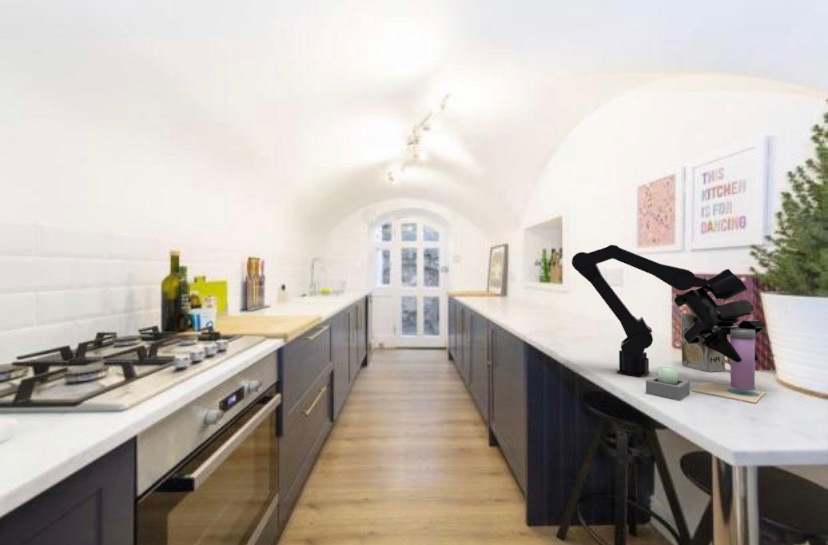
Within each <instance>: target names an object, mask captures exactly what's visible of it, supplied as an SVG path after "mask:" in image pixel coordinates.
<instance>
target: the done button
mask: <svg viewBox="0 0 828 545" xmlns="http://www.w3.org/2000/svg"><path fill="white" fill-rule="evenodd" d="M678 372H679V371H678V368H675V367H670V366H657V376H658V382H661V383H666V384H671V385H678Z"/></svg>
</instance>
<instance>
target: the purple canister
mask: <svg viewBox="0 0 828 545" xmlns="http://www.w3.org/2000/svg"><path fill="white" fill-rule="evenodd" d="M729 338H730V339H729V340H730V341H729V342H730V343H731V345H732V346H733V348H734V349H735V350H736V352H737V353H738V355H739V356H740V358H741V360H742V361H740V362H739V363H737V362H735V361H734V360H732V359H730V365H729V367H730V375H729V376H730V381H729V382H730V386H731V387H733V388H736V389H741V390H756V384H755V382H756V380H755V376H756V372H755V371H756V369H755V368H756V366H755V365H756V364H755V363H756V361H755V351H756V347H755V346H756V345H755V344H756V343H755V342H756V336H755V330H752V329H743V328H730V337H729Z"/></svg>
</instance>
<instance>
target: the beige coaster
mask: <svg viewBox="0 0 828 545" xmlns="http://www.w3.org/2000/svg"><path fill="white" fill-rule="evenodd" d="M690 392H695V393H698V394H705V395H710V396H714V397H719V398H725V399H730V400H735V401H740V402H746V403H750V404H757V403H758V402H759V401H761V400H762V398H763V397H764V396H765V395H766V394H767V391H761V390H756V389H755V390H741V389H736V388H733V387H731V385H728V384H722V383H716V382H711V381H703V382H702V383H700V384H698V385H696V387H693V388H692V389H691V390H690Z"/></svg>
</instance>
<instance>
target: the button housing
mask: <svg viewBox="0 0 828 545" xmlns="http://www.w3.org/2000/svg"><path fill="white" fill-rule="evenodd" d="M690 388H691V384H690V380H689V381H688V380H683V379H678V385H671V384H666V383H661V382H658V375H656V376H653V377H651V378H649V379H646V380H645V394H648V393H649V394H648V395H652V394H653V395H652V396H657V397H661V398H667V399H672V400H675V399H676V401H681V400H682V399H684V398H686V397H688V396H690V394H691V390H690Z"/></svg>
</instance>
